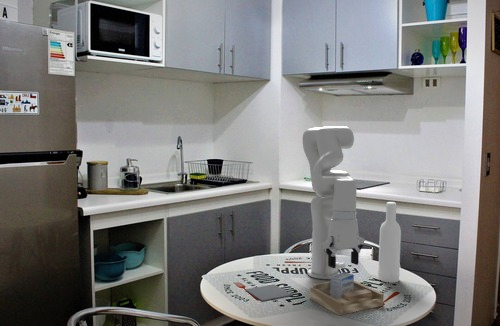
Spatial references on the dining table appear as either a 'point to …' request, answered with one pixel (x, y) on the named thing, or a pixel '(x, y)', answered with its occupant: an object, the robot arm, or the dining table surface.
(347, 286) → the medicine box
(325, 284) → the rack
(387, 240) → the bottle
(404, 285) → the dining table surface
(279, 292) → the mat
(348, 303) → the offcut stack
